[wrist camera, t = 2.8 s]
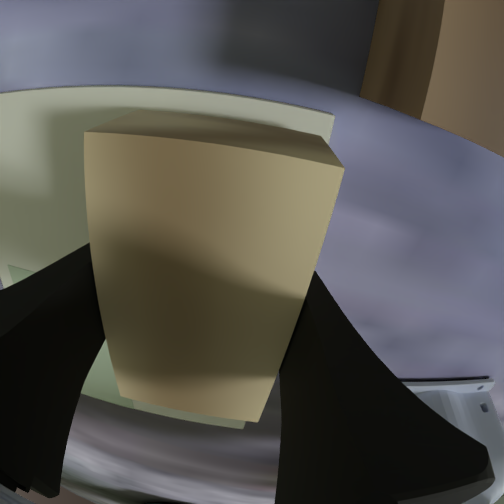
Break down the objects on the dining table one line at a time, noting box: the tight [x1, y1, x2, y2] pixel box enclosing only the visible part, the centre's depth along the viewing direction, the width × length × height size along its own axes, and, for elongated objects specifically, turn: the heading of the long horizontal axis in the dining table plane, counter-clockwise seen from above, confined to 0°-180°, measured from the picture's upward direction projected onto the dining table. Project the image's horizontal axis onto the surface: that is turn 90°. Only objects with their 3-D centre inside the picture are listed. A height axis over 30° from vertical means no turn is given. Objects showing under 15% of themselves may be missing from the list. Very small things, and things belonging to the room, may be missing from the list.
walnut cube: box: [359, 0, 504, 157], centre depth 6 cm, size 4×4×4 cm
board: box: [0, 85, 335, 429], centre depth 13 cm, size 14×18×1 cm
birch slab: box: [84, 110, 345, 422], centre depth 9 cm, size 5×9×3 cm, turn 171°
